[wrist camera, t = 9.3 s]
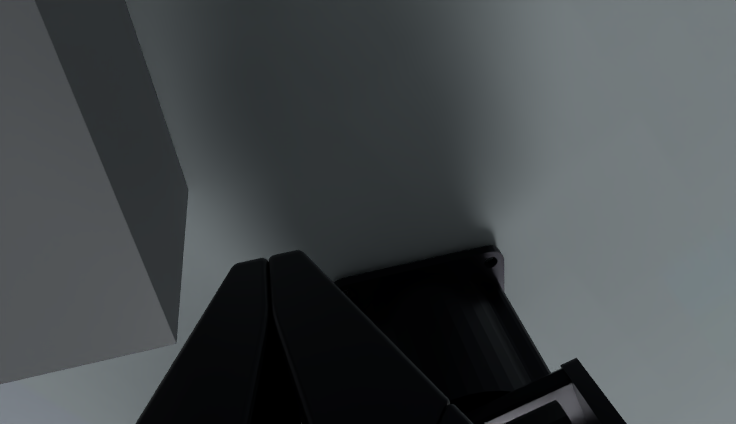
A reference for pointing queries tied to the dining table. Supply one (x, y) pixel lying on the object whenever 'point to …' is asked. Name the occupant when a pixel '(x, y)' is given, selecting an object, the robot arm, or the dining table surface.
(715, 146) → the dining table surface
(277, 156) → the dining table surface
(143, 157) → the camera housing
